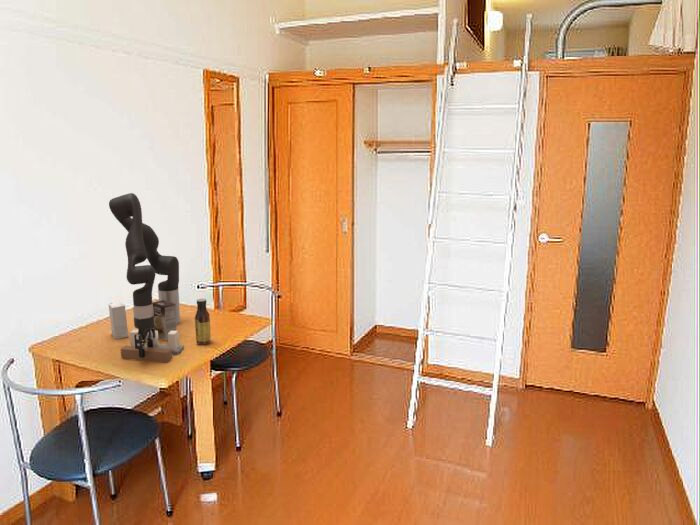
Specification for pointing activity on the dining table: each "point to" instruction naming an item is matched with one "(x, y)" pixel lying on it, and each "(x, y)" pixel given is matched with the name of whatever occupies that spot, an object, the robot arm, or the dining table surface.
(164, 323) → the coffee box
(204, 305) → the sauce bottle
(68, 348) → the dining table surface
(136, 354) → the frame bar
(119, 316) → the skincare box
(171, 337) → the stand
